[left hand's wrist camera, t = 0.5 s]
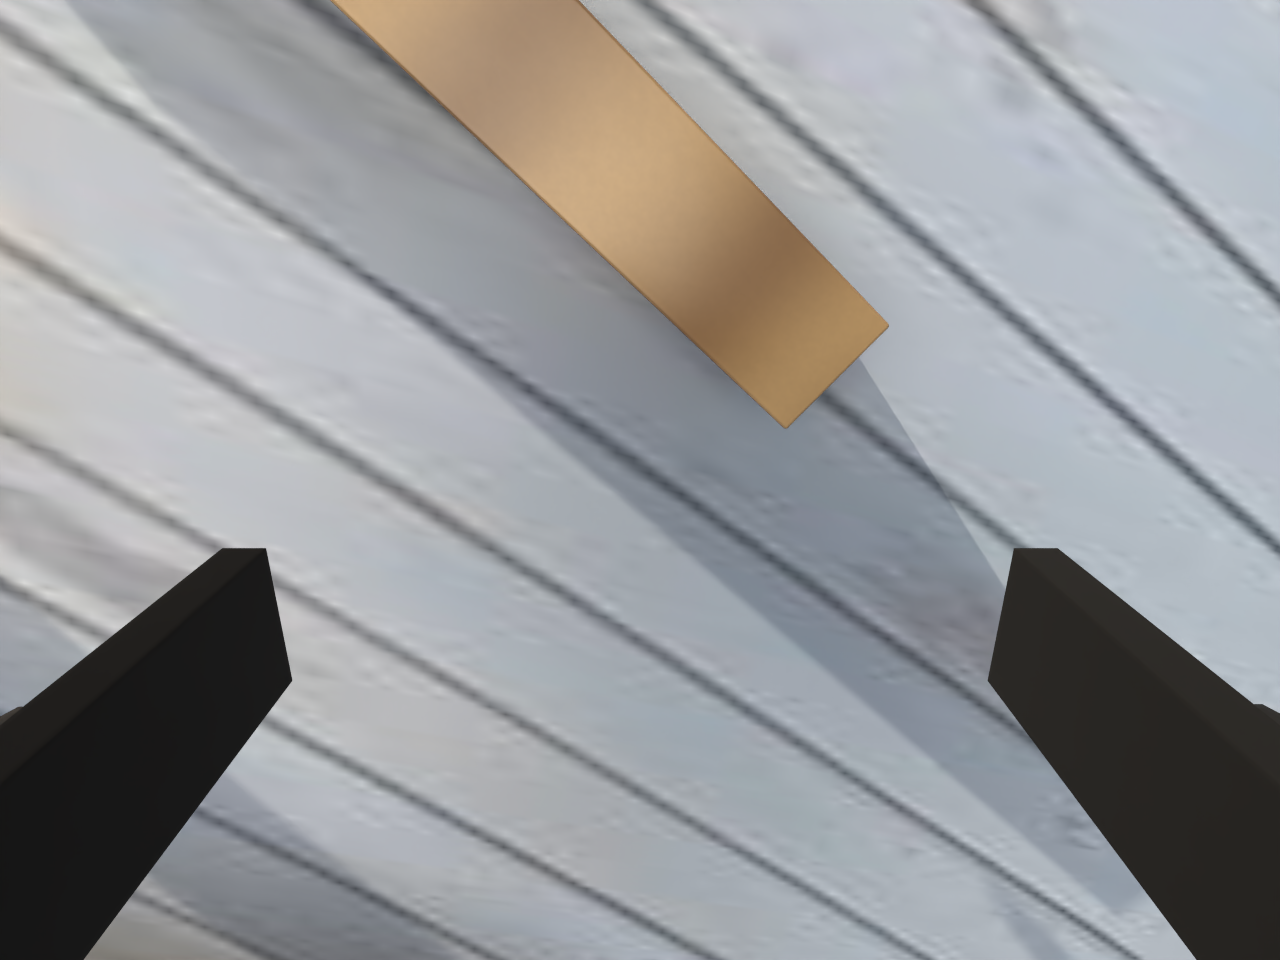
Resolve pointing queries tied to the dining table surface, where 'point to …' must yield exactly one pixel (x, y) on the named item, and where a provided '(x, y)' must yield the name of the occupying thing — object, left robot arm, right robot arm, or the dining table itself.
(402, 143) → the dining table surface
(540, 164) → the bar
